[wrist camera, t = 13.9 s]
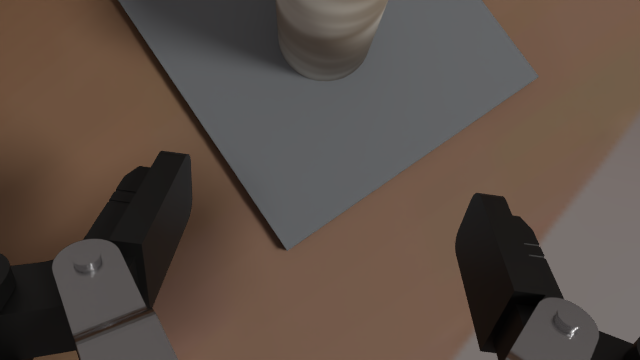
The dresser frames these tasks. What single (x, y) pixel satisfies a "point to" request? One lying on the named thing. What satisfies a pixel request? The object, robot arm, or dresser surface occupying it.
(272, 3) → the slate mat
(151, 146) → the dresser surface
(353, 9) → the cream peg
